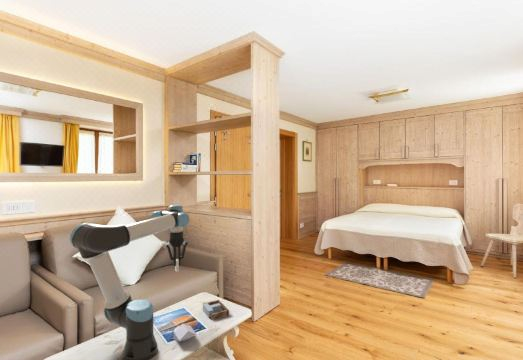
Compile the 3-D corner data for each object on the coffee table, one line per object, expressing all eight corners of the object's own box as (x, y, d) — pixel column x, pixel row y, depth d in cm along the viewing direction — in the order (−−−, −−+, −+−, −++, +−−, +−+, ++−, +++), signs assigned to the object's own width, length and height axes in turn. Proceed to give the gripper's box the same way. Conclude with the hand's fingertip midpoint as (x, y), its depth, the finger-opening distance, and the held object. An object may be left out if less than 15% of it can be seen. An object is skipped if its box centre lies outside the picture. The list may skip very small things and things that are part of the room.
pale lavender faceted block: (197, 341, 143) (188, 329, 154) (197, 328, 143) (188, 317, 154) (179, 347, 138) (171, 334, 149) (179, 333, 138) (171, 322, 149)
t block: (208, 318, 166) (208, 311, 166) (203, 310, 174) (203, 304, 174) (223, 314, 170) (223, 307, 170) (216, 307, 179) (216, 300, 179)
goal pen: (212, 319, 164) (212, 314, 163) (202, 308, 178) (202, 303, 178) (228, 315, 169) (228, 310, 169) (218, 304, 183) (218, 299, 183)
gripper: (166, 233, 162) (167, 274, 163) (189, 231, 168) (189, 270, 169) (163, 231, 168) (164, 270, 169) (185, 229, 175) (186, 267, 176)
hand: (176, 270), depth 169 cm, fingers closed
